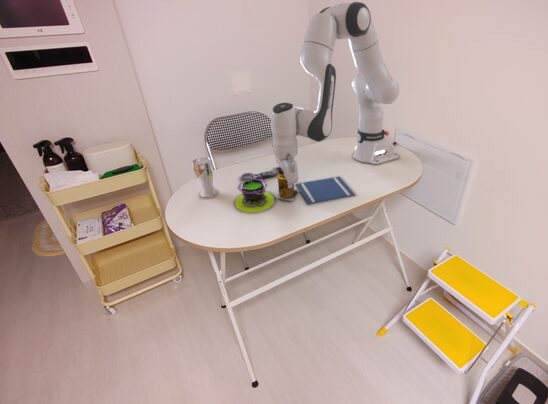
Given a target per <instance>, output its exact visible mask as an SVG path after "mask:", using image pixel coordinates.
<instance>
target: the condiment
mask: <svg viewBox="0 0 548 404" xmlns="http://www.w3.org/2000/svg"><path fill="white" fill-rule="evenodd" d="M292 185H293V187H292V188H288V187H287V180H286V178H285V176H284V174H283V171H282V169H281V167H280V168H279V169H278V174H277V186H278V194H277V195H276V197H275V199H279V200H284V201H288V202H292V201H294V199H295V198H296V197H297V195H298V194H299V193H300V190H299V189H295V183H294V184H292Z"/></svg>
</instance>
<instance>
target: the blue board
mask: <svg viewBox="0 0 548 404" xmlns="http://www.w3.org/2000/svg"><path fill="white" fill-rule="evenodd" d="M295 185H296V187H297V190H300V191H299V193H300V194H301V195H302V197H303V198H304V200H305V202H306V204H307V205H311V204H316V203H317V204H318V203H321V202H327V201H333V200H337V199H343V198H348V197H352V196H353V197H354V196H356V193H354V192H353V190H352V189H351V188H350V187H349V186H348V185H347V184H346V182H345V181H344V180H343V179H342V178H341V177H340V176H335V177H330V178H323V179H318V180H313V181H306V182H301V183H295Z"/></svg>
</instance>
